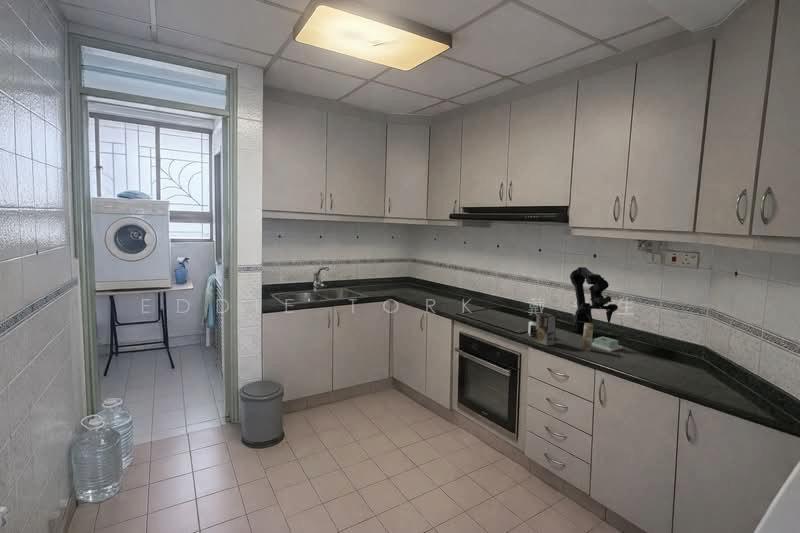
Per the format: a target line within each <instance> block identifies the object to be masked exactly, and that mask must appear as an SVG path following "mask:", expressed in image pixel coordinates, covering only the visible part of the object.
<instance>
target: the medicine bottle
mask: <svg viewBox="0 0 800 533" xmlns="http://www.w3.org/2000/svg"><path fill="white" fill-rule="evenodd" d="M536 318H537V314H532V315H531V316H530V321H528V329H527V330H528V331H527V334H528V333H529V334H528V336H529V337H530V336H535V335H536Z"/></svg>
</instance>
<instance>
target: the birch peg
mask: <svg viewBox="0 0 800 533" xmlns="http://www.w3.org/2000/svg"><path fill="white" fill-rule="evenodd" d="M593 333H594V324H593V323H592V322H590V323H584V333H583V334H582V335H583V336H582V346H581V350H582V349H583V350H582V351H585V350H586V352H591V351H592V347H593V346H592V343H593Z"/></svg>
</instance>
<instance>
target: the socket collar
mask: <svg viewBox="0 0 800 533" xmlns="http://www.w3.org/2000/svg"><path fill="white" fill-rule="evenodd" d="M591 347H592V348H596V349H600V350H603V351H606V352H609V353H610V352H615V351H617V350H621V349H623V348H624V347H623V346H622V345H619V340H618V339H614V338H611V337H605V336H599V337H596V338H594V341H592V346H591Z"/></svg>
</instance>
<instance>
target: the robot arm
mask: <svg viewBox="0 0 800 533" xmlns="http://www.w3.org/2000/svg"><path fill="white" fill-rule="evenodd" d="M569 274H570V275H569V278H570V282H571V284H572V285H573V286H574V290H575V291H574V292H575V297H576V298H575V299H576V304H577V306H576V307H577V309H576V311H575V314H574V315H573V318H572V322H573V323H574V330H573V331H572V332H573V333H576V334H579V335H583V333H584V323H593V315H592V310H593V309H594V310H605V311H606V312H605V314H606V319H607V324H610V323H611V320H612V315H613V314H614V312H616V311H617V310H619V307H618V305H617V304H614V303H612V296H611V295H610V296H607V295H606V296H605V297H604V295H603V292H605V290H607V289H608V288H609V285H610V284H609V283H608V281H607V280H606V279H605V278H604V277H602V276H601V275H600V274H598V273H593V272H592V271H591V270H589V269H588V268H587V267H585V266H584V267H581V266H580V267H577V269H574V270H572V271H571V273H569ZM585 282H586V283H587V284H588V285H590V287H589V288H588V290H589V292H590V301H591V303H590V302H589V303H588V302H586V298H585V297H586V296H585V289H584V284H585ZM609 303H610V304H609Z"/></svg>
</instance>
